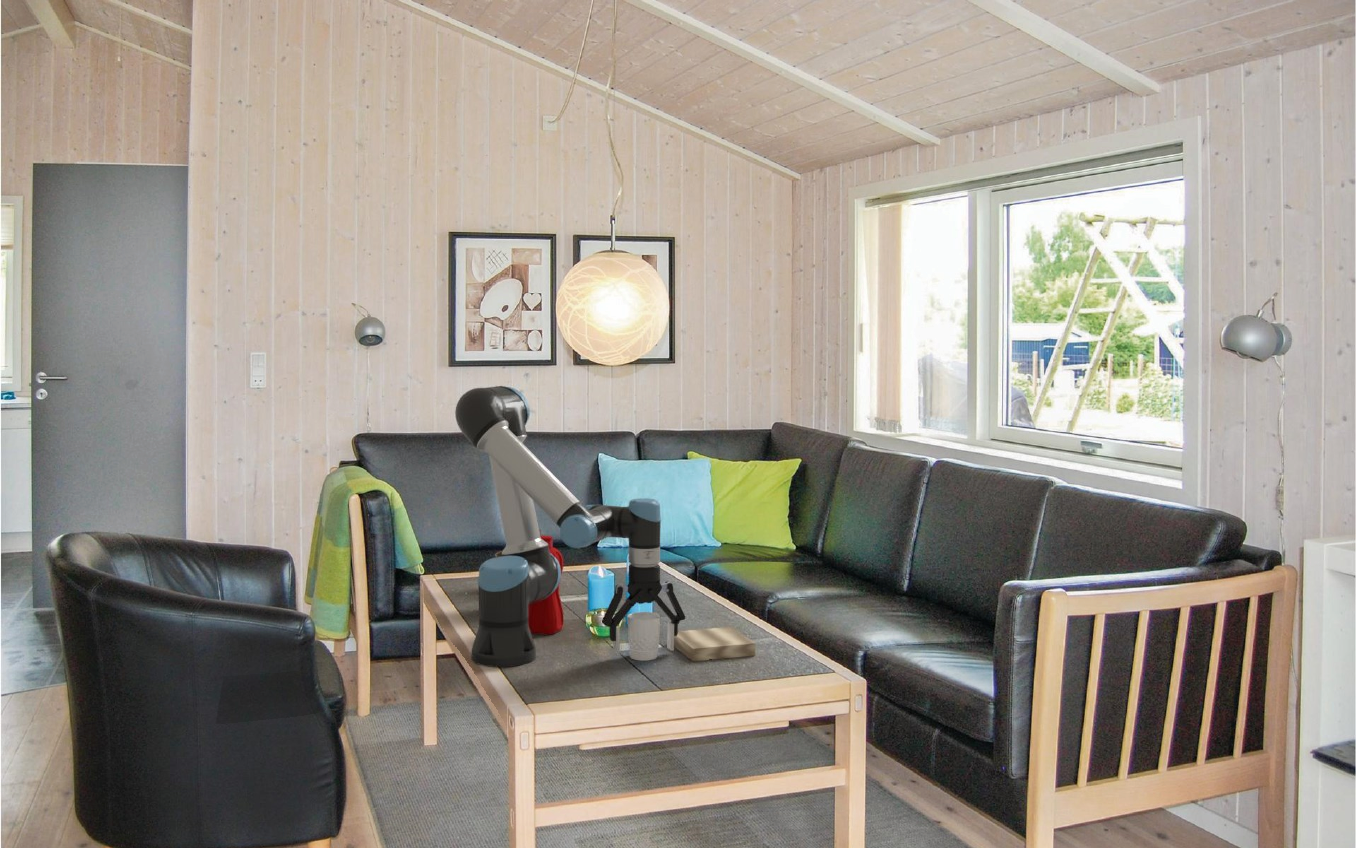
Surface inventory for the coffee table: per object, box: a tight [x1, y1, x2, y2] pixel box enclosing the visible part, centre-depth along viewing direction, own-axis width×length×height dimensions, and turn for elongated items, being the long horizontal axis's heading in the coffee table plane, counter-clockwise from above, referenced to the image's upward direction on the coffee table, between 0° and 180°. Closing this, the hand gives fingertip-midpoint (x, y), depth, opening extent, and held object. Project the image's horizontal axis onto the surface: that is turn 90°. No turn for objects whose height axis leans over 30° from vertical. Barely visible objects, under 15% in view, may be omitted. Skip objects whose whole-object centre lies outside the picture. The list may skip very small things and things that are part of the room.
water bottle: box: [528, 534, 565, 636], centre depth 289 cm, size 9×11×25 cm
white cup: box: [627, 611, 661, 662], centre depth 266 cm, size 8×8×10 cm
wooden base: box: [674, 626, 756, 662], centre depth 273 cm, size 16×16×3 cm
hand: (643, 651), depth 266 cm, fingers open, 13 cm apart
